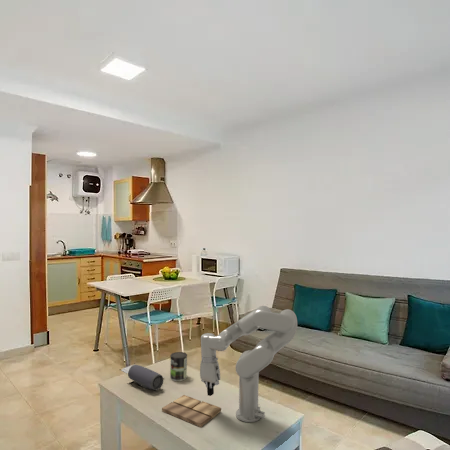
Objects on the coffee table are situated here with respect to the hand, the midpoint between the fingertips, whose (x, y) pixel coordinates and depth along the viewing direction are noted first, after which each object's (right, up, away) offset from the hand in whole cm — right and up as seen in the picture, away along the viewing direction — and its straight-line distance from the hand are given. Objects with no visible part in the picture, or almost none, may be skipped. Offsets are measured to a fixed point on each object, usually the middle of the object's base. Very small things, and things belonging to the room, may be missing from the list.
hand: (210, 394), depth 179 cm
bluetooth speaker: (-39, -8, +26) cm, 48 cm away
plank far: (-13, -8, +5) cm, 16 cm away
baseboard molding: (-46, -9, +41) cm, 62 cm away
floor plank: (-12, -8, -5) cm, 15 cm away
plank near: (-2, -7, -2) cm, 8 cm away
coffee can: (-22, -8, +38) cm, 45 cm away
